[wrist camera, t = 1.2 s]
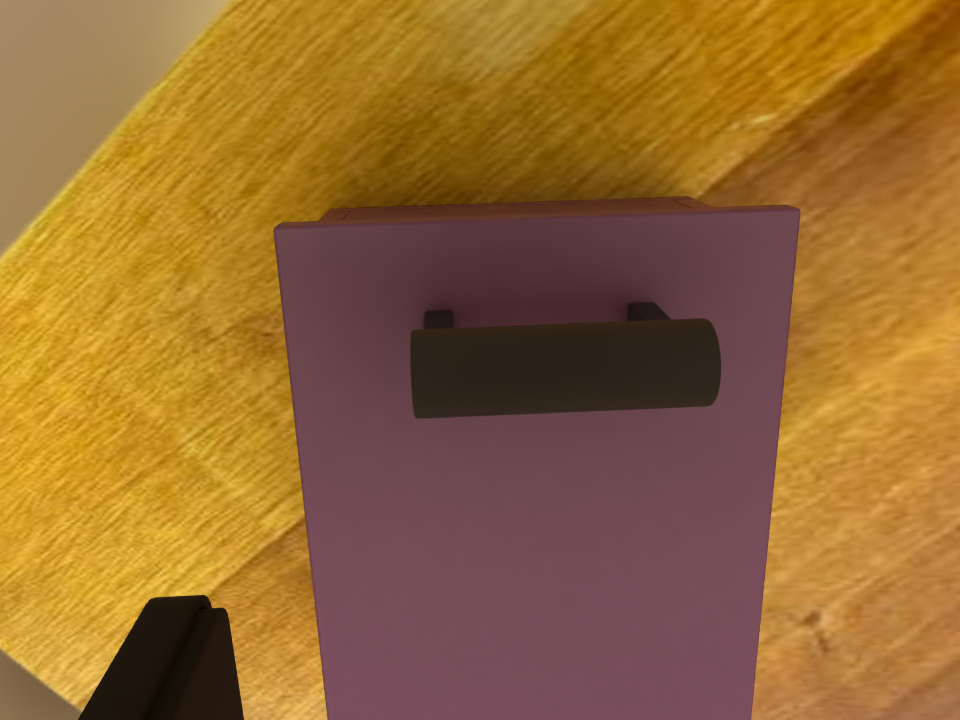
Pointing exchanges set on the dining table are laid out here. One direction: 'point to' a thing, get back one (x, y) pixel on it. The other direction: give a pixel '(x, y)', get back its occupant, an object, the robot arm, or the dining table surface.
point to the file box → (511, 208)
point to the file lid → (539, 457)
